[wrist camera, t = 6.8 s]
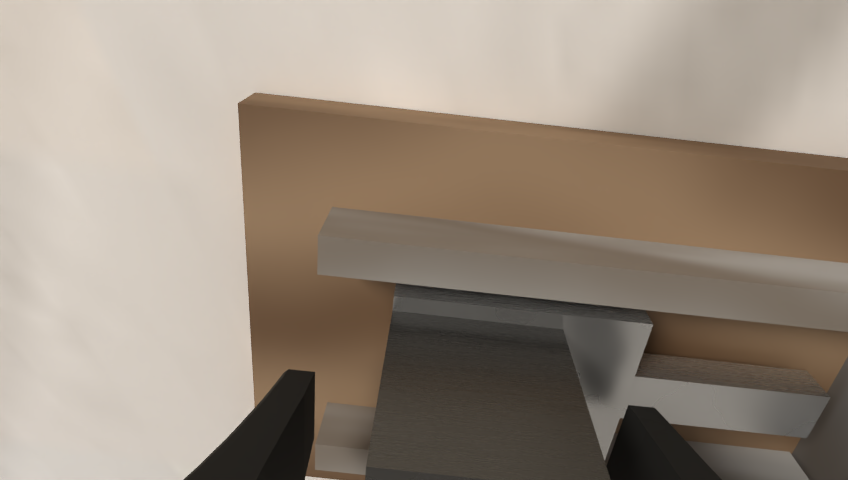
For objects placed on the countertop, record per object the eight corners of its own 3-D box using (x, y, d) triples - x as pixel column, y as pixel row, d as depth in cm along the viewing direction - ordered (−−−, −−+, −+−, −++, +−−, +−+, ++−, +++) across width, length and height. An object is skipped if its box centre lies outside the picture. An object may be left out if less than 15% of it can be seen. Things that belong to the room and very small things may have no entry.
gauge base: (811, 500, 19) (962, 721, 13) (269, 441, 19) (192, 641, 13) (1015, 176, 13) (1414, 322, 8) (254, 92, 13) (115, 180, 8)
